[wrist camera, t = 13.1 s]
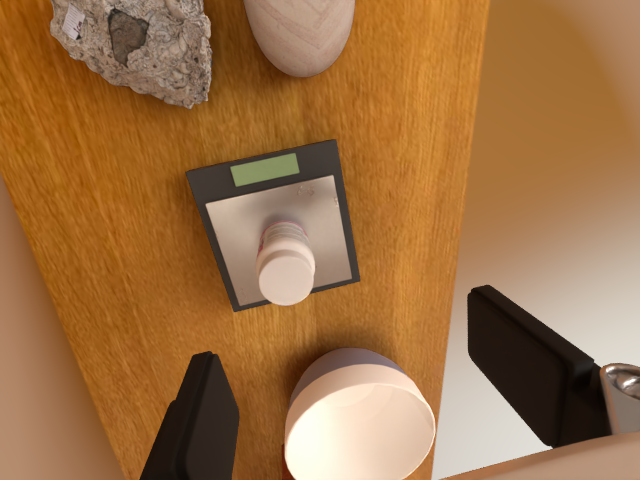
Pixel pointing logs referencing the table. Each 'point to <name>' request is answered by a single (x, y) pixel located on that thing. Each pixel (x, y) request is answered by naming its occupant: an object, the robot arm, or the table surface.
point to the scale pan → (272, 206)
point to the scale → (270, 174)
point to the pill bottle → (285, 263)
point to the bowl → (356, 420)
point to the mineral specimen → (140, 44)
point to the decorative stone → (301, 32)
